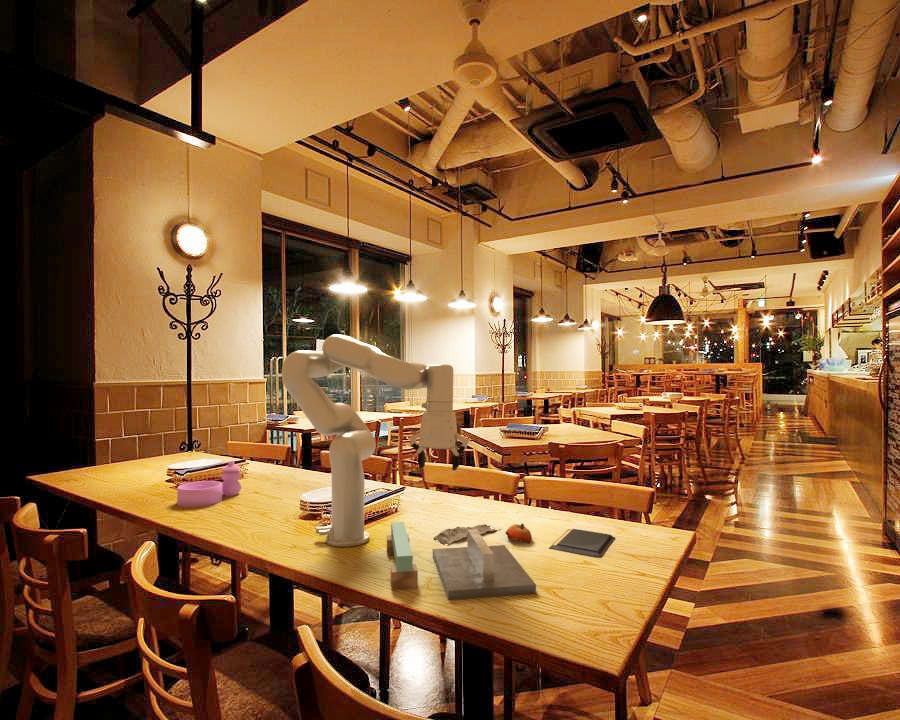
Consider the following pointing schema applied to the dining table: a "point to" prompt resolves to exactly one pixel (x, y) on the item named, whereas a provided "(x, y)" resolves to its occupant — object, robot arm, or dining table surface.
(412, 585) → the batten rest
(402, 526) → the teal batten
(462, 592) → the ridge stand
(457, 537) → the stone fragment
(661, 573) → the dining table surface
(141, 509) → the dining table surface
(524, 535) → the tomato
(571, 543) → the dark grey flat block
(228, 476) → the container set
